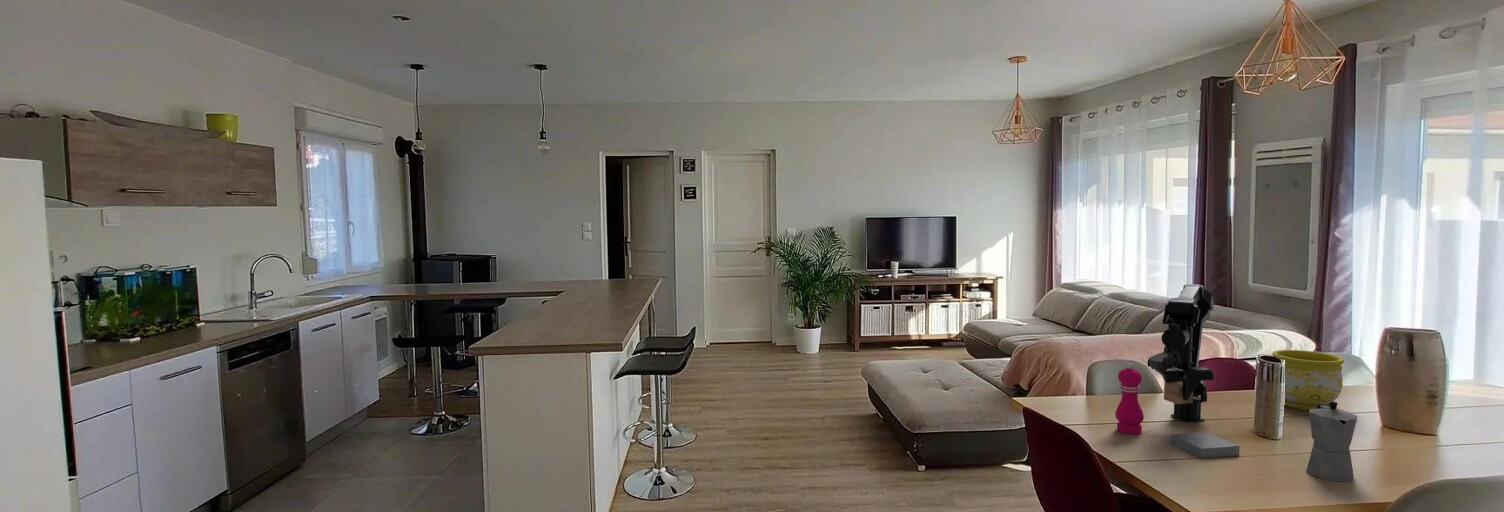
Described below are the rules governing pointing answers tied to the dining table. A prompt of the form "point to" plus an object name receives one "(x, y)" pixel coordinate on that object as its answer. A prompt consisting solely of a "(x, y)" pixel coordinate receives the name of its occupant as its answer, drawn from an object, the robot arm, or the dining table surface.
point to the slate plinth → (1204, 445)
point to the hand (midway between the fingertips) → (1178, 397)
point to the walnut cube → (1175, 393)
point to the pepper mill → (1129, 401)
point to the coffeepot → (1331, 443)
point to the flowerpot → (1310, 378)
